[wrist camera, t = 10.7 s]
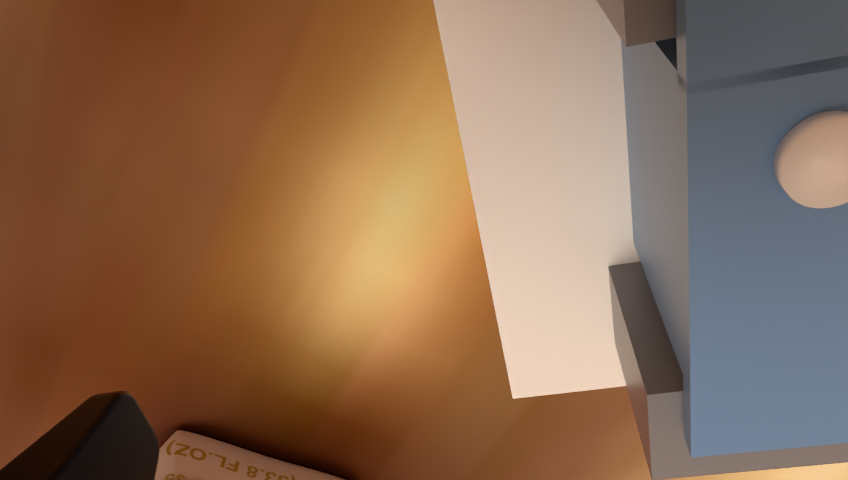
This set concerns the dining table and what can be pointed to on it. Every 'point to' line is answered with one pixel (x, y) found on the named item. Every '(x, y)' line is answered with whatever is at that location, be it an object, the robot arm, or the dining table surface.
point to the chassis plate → (572, 211)
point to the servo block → (747, 215)
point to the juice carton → (223, 462)
